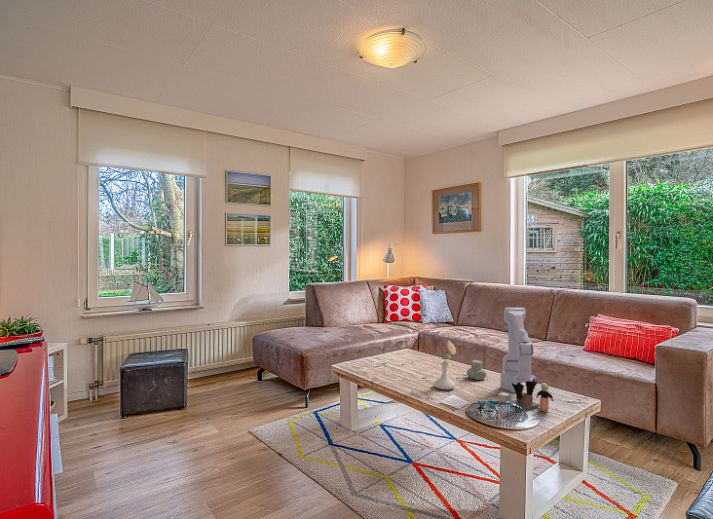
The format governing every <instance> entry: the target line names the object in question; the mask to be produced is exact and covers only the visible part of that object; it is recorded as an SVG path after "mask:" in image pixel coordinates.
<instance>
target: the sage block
mask: <svg viewBox="0 0 713 519" xmlns="http://www.w3.org/2000/svg"><path fill="white" fill-rule="evenodd" d="M498 401H499V402H498ZM506 401H510V402H511V394H510V393H507V392H504V391H503V392H499V393H498V394H497V402H498V403H501V402H506Z"/></svg>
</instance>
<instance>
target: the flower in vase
mask: <svg viewBox="0 0 713 519" xmlns="http://www.w3.org/2000/svg"><path fill="white" fill-rule="evenodd" d="M446 346H447V352H446V354H445V356H442V357H441V359H442V360H440V361H439V364H440V365H441V371H442V372H441V373H442V374H441V376H439V377H438V378H437V379H436V380H435V381H433V386H434V387H435V388H437V389H439V390H452V389H454V388H455V387H456V384H455V383H454V381H453V380H451V379H450V378H449V377H448V374H447V370H448V365H449V364H450V362H449V361H446V360H447V358H448V359H449V360H451V358H452V355H456V353H457V351H456V350H457V349H456V347H455V345H454V343H452V341H451V340H447V343H446Z"/></svg>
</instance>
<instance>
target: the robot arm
mask: <svg viewBox="0 0 713 519" xmlns="http://www.w3.org/2000/svg"><path fill="white" fill-rule="evenodd" d="M526 317H527V311H526V308H525V307H508V306H506V307H505V308H504V311H503V320H504V322H505V323H507V326H508V327H507V332H508V333H507V336H508V337H507V338H508V339H507V341H508V342H507V343H508V346H507V350H508V351H507V352H508V353H507V354H505V355H504V356H503V358H502V364H501V366H502V372H501V373H500V382H499V383H500V385H499V388H500V389H503V390H506V391H508V392H511V393H514V394H515V397H516V399H517V398H518V399H522V393H523V391H524V388H526V393H527V394H530V395H533V394H534V390H535V387H536V386H537V384H538V381H537V376H536V375H534V374H532V356H533V355H534V345H533V343H532V341H531V340H530V338H529V334H528V332H527V331H526V330H525V327H524V326H525V325H524V321H525V319H526ZM522 383H525V385H523V384H522Z"/></svg>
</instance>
